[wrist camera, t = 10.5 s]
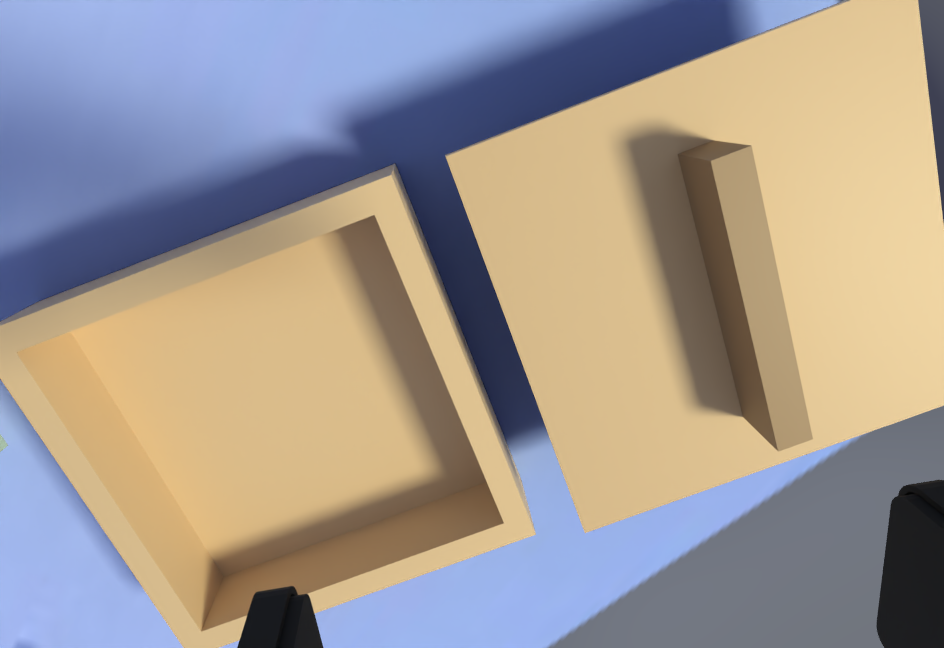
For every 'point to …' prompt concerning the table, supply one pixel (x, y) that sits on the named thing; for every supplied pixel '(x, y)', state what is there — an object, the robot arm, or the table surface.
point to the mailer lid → (723, 257)
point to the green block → (2, 443)
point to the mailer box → (272, 411)
